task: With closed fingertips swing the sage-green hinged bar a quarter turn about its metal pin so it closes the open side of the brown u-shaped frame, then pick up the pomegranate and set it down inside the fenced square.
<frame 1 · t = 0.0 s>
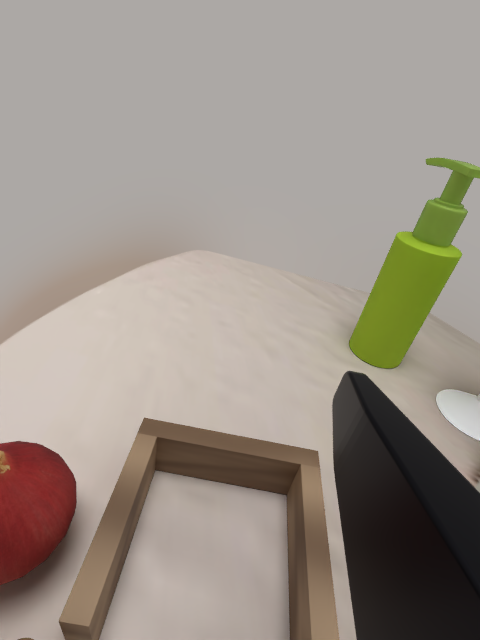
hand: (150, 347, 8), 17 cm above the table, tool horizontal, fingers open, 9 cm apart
pomegranate: (22, 546, 18), on the table
champagne flute: (471, 416, 33), on the table
soap dispenser: (371, 349, 40), on the table
brown u-shaped frame: (210, 557, 19), on the table
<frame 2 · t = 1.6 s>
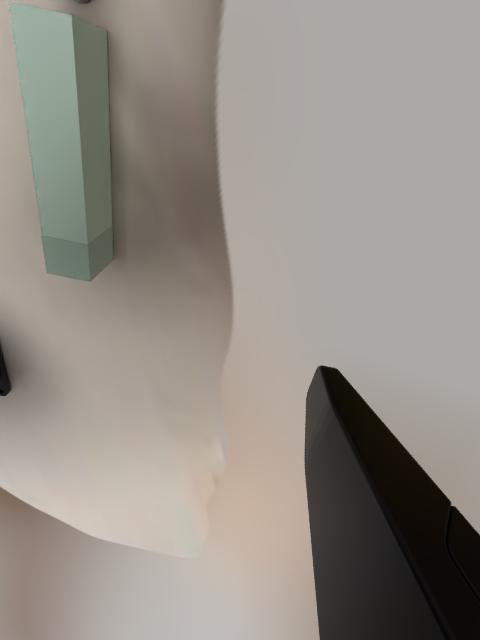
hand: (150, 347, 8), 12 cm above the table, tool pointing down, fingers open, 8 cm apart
leg bar: (74, 163, 16), point 2 cm above the table, hinge at 0.0°
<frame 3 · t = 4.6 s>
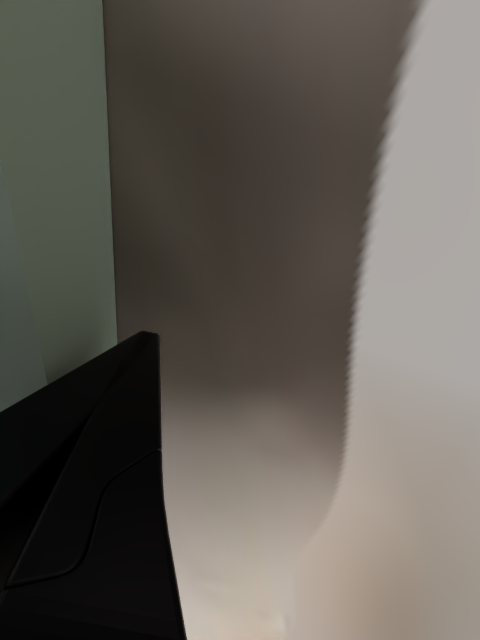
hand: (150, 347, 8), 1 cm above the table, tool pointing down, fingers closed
leg bar: (24, 279, 6), point 2 cm above the table, hinge at 0.2°, touching gripper
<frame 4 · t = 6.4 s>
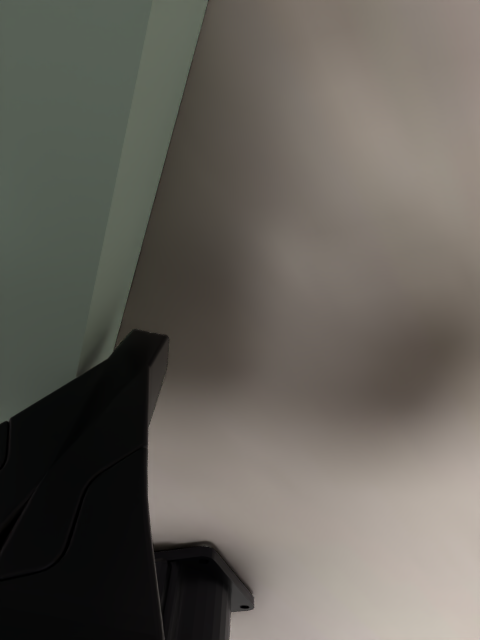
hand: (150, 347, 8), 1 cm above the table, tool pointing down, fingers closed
leg bar: (58, 272, 7), point 2 cm above the table, hinge at 42.6°, touching gripper
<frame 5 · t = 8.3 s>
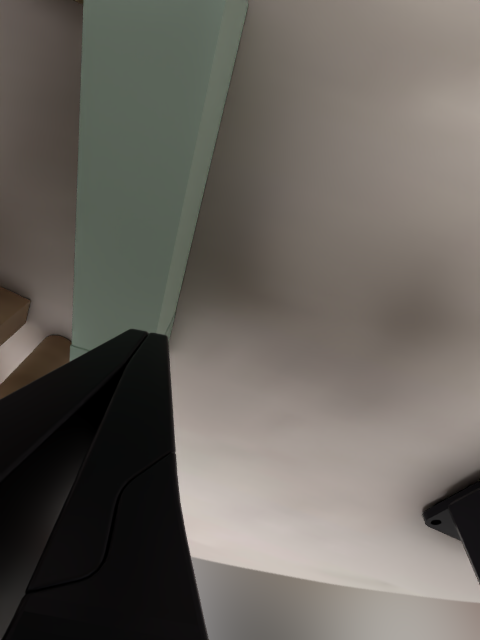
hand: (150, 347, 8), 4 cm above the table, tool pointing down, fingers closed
leg bar: (144, 231, 9), point 2 cm above the table, hinge at 77.5°
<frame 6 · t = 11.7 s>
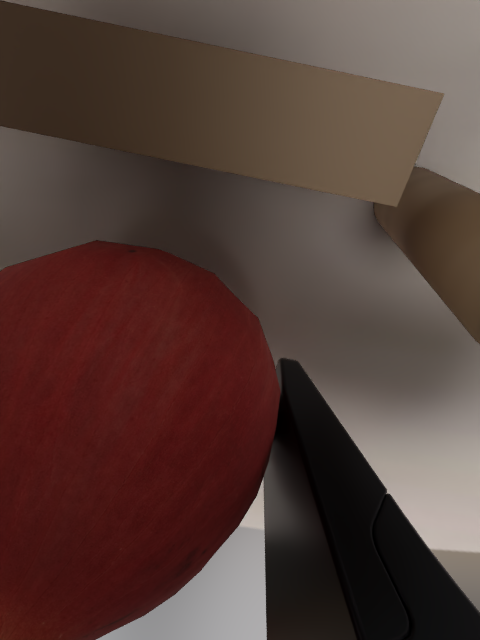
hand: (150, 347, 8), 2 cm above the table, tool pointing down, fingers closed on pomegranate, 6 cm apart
pomegranate: (174, 299, 10), on the table, touching gripper
when the fingers open (5 cm above the table, at t = 15.2 s): pomegranate drops 3 cm, on the table.
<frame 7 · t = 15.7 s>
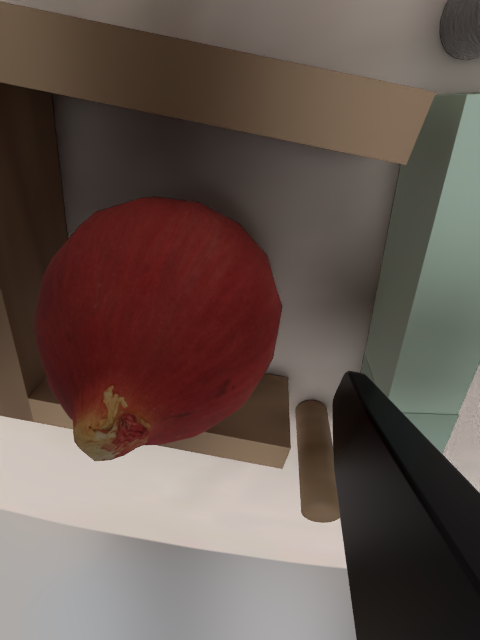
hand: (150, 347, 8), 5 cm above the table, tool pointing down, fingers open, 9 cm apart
pomegranate: (197, 259, 12), on the table
leg bar: (429, 300, 10), point 2 cm above the table, hinge at 77.5°
brown u-shaped frame: (194, 260, 12), on the table
pin: (477, 16, 8), on the table
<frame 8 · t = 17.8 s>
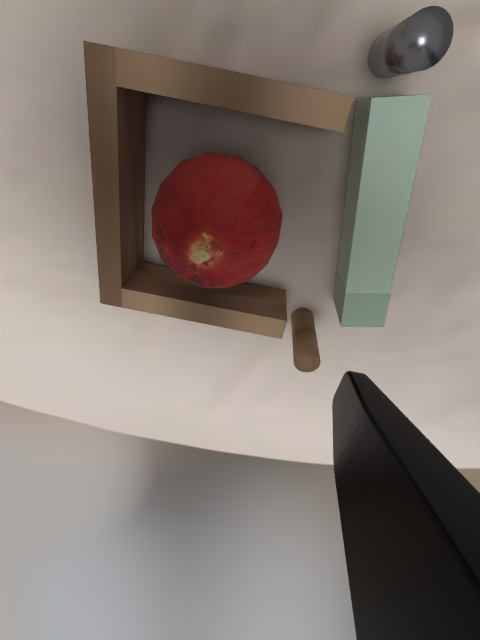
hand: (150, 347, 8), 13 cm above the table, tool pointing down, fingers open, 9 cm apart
pomegranate: (227, 203, 19), on the table
leg bar: (371, 222, 17), point 2 cm above the table, hinge at 77.5°
brown u-shaped frame: (225, 203, 19), on the table
pin: (387, 55, 15), on the table
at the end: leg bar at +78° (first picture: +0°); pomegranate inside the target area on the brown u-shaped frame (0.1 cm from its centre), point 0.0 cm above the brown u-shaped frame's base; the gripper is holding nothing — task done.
